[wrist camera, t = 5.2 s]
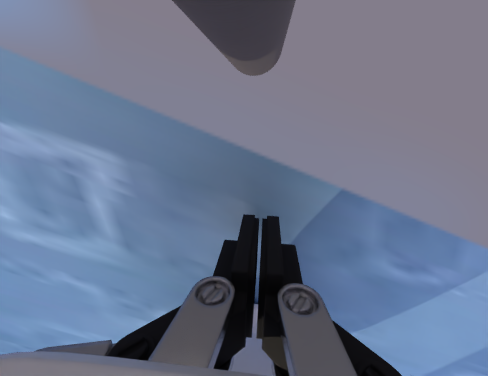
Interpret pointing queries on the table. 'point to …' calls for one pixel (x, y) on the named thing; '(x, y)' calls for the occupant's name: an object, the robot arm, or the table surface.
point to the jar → (253, 354)
